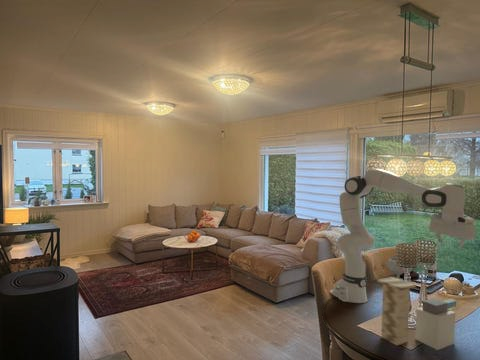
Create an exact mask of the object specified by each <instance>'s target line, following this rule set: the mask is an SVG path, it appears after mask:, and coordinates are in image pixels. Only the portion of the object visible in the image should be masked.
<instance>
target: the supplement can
mask: <svg viewBox="0 0 480 360" xmlns="http://www.w3.org/2000/svg"><path fill="white" fill-rule="evenodd" d="M437 259H438V258H437V257H436V262H435V264H434V265H431V266H428V268H427V269H428V277H427V278H431V277H432V278H434V279H435V278H436V277H437V267H438V266H437V265H438V264H437V263H438V260H437ZM432 278H431V279H432Z"/></svg>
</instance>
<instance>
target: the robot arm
mask: <svg viewBox="0 0 480 360" xmlns="http://www.w3.org/2000/svg"><path fill="white" fill-rule="evenodd" d="M343 186H344V190H345V191H343V192H341V194H340V195H339V209H340V215H341V220H342V224H343V225H344V226H345V227H346V228H347V229H348V230H349V233H345V234H343V235H340V236H339V237H338V239H337V242H336V243H337V247H338V249H339V250H340V251H341V252H342V254H343V257H344V262H345V271H344V273H342V274H341V276H343V277H342V278H341V279H340V280H338V281H336V282H335V283H334V287H333V288H331V289H330V291H329V293H330V294H331V295H333V296H334V297H336V298H337V297H338V298H337V299H339V300H340V301H342V302H344V303H346V302H348V303H353V304H364V303H367V302H368V298H367V288H366V282H367V275H366V266H367V265H366V264H367V263H366V261H365V260H364V259H363V258H362V255H361V252H364V251H368V250H370V249H371V248H373V247H374V246H375V243H376V241H375V237H374V235H373V234H371V233H370V232H369V230H368V229H367V228H366V226H365V223H364V221H363V218H362V213H361V207H360V204H359V200H360V199H363V198H364V197H366V196H368V195H371V193H372V192H373V191H374V188H375V189H378V190H379V191H383V192H385V193H391V194H409V195H411V196H415V197H418V198H421V202H422V204H423V205H424V206H425V207H427V208H432V209H433V208H435V209H436V208H441V210H442V211H441V212H442V213H441V214H437V213H434V214H432V215H431V216H430V223H429V228H428V229H429V232H430V233H435V236H436V238H437V243H441V244H442V243H444V242H443V241H444V239H443V238H442V235H445V236H450V237H455V238H459V239H460V242H458V243H457V248H463V247H464V244H465V243H466V241H467V240H468V241H471V240H472V241H473V240H474V239H476V235H477V234H476V225H475V222H476V220H475V218H473V217H472V216H471V217H470V216H468V215H466V214H465V213H464V210H465V209H464V206H465V202H466V190H465V187H464V186H462V185H460V184H457V183H450V182H447V183H445V184H444V185H442V186H439V187H438V186H437V187H434V188H433V187H432V188H430V187H428V186H424V185H421V184H418V183H414V182H412V181H410V180H408V179H407V178H403V177H402V176H400V175H398V174H396V173H393V172H391V171H388V170H385V169H379V168H373V167H372V168H369V169H368V170H367V171H365V174H364V176H362V175H357V176H351V177H349V178H348V179H346V181H345V182H344V185H343Z"/></svg>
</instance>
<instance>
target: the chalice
mask: <svg viewBox="0 0 480 360" xmlns="http://www.w3.org/2000/svg"><path fill="white" fill-rule="evenodd" d="M396 258H397V257H389V259H388V261H387V267H388V269H389V270H390V271H392V272H393V273H394V274H395V275H396V277H395V278H398V279H401V280H403V279H404V278H401V277H400V275H401V274H402V273H404V272H403V270H402V269H401V268H399V267H398V266H397V264H396Z"/></svg>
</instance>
